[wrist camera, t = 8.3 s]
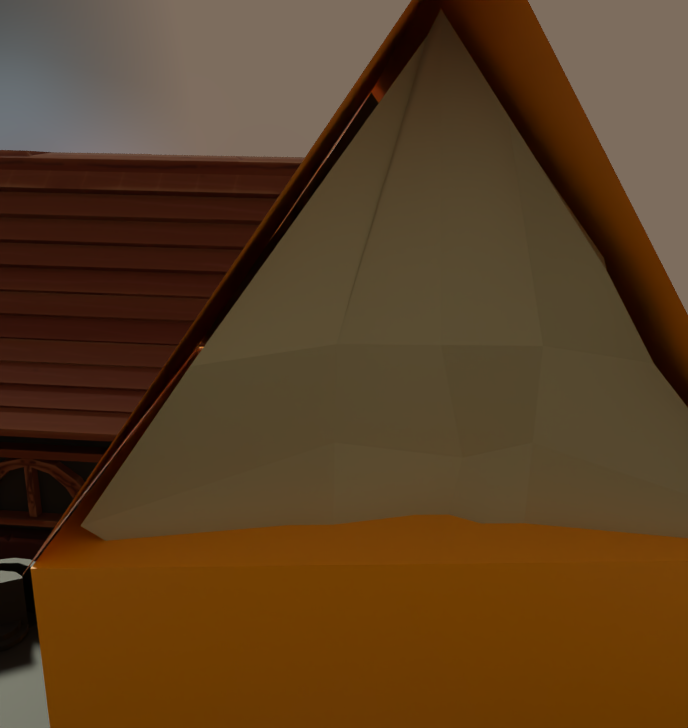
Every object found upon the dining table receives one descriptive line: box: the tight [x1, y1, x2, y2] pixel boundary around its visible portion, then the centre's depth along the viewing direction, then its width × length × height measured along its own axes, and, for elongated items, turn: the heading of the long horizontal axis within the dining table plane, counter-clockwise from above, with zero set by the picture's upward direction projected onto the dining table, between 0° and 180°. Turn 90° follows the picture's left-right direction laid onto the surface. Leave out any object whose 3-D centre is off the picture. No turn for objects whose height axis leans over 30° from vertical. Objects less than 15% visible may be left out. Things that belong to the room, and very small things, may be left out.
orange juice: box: [21, 0, 688, 728], centre depth 11 cm, size 8×9×20 cm
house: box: [0, 150, 328, 562], centre depth 47 cm, size 35×28×29 cm
